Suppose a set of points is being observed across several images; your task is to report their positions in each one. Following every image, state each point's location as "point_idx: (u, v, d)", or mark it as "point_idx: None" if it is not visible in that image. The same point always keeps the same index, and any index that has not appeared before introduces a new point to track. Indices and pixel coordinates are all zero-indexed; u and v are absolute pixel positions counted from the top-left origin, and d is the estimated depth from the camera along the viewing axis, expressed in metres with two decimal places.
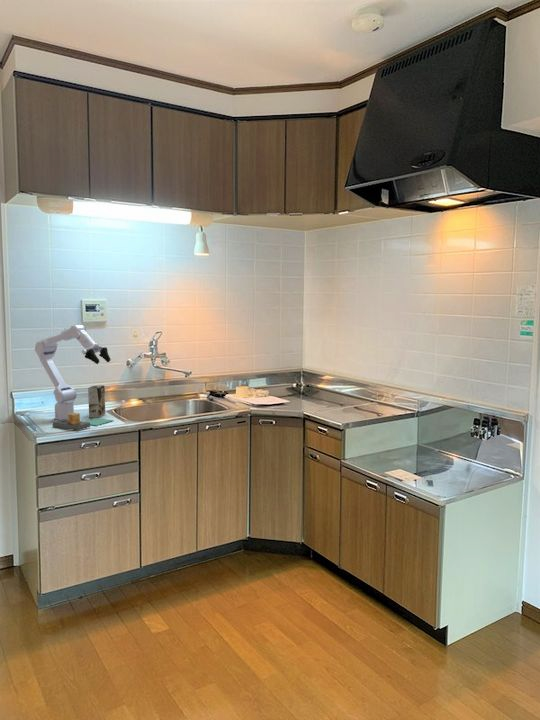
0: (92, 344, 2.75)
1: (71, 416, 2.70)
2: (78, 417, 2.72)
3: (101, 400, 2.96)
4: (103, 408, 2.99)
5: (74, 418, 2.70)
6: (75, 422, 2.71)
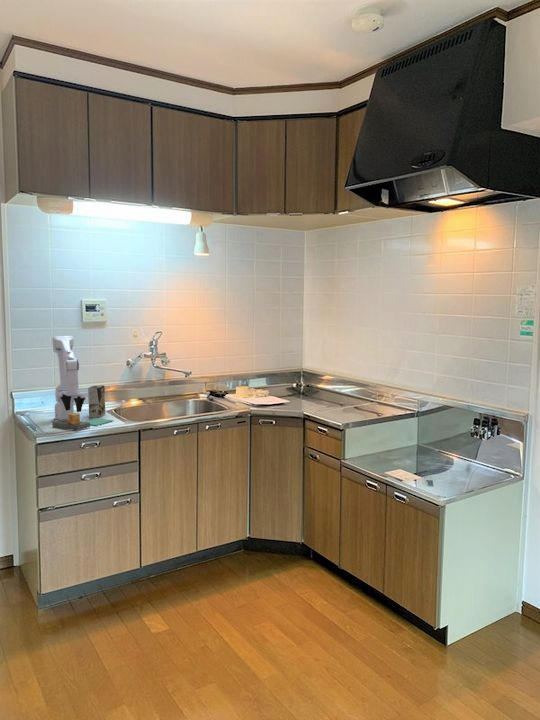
0: (66, 391, 2.69)
1: (71, 416, 2.70)
2: (78, 417, 2.72)
3: (101, 400, 2.96)
4: (103, 408, 2.99)
5: (74, 418, 2.70)
6: (75, 422, 2.71)
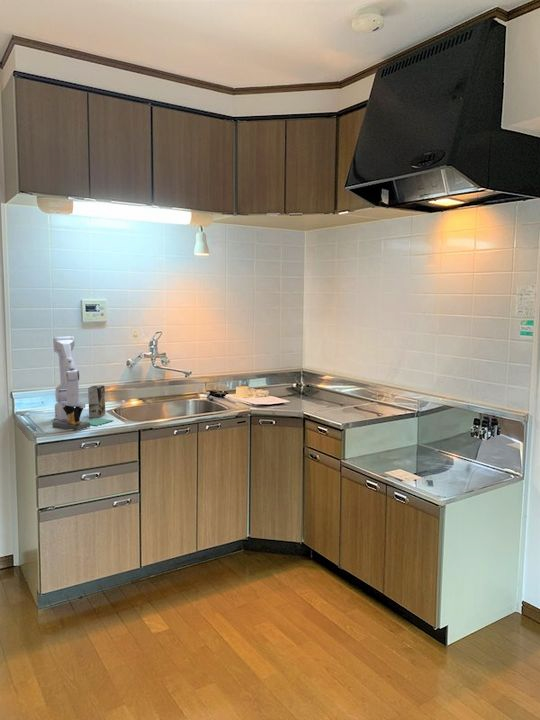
0: (67, 401, 2.69)
1: (71, 416, 2.70)
2: None
3: (101, 400, 2.96)
4: (103, 408, 2.99)
5: (74, 418, 2.70)
6: (75, 422, 2.71)
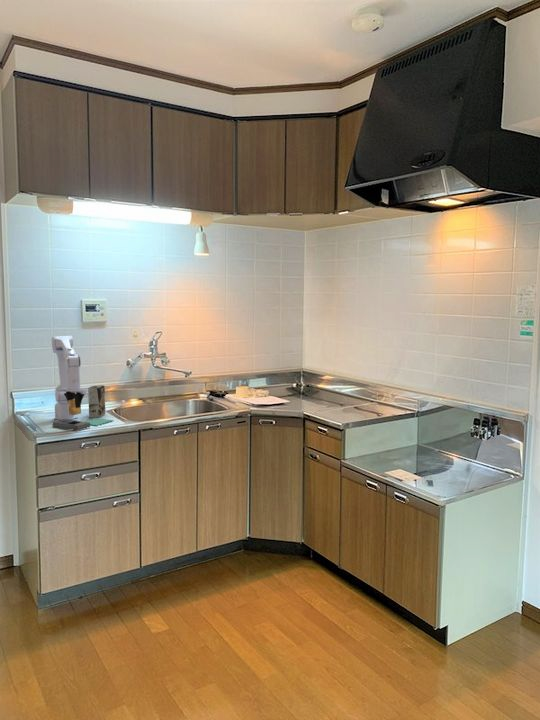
0: (68, 387, 2.69)
1: (72, 402, 2.70)
2: None
3: (101, 400, 2.96)
4: (103, 408, 2.99)
5: (75, 404, 2.70)
6: (76, 408, 2.70)
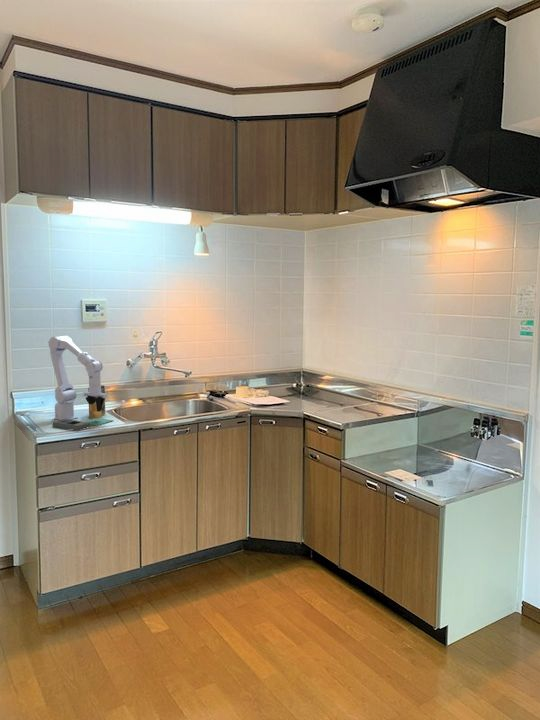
0: (89, 391, 2.79)
1: (93, 406, 2.80)
2: None
3: None
4: (103, 408, 2.99)
5: (96, 408, 2.80)
6: (97, 412, 2.81)
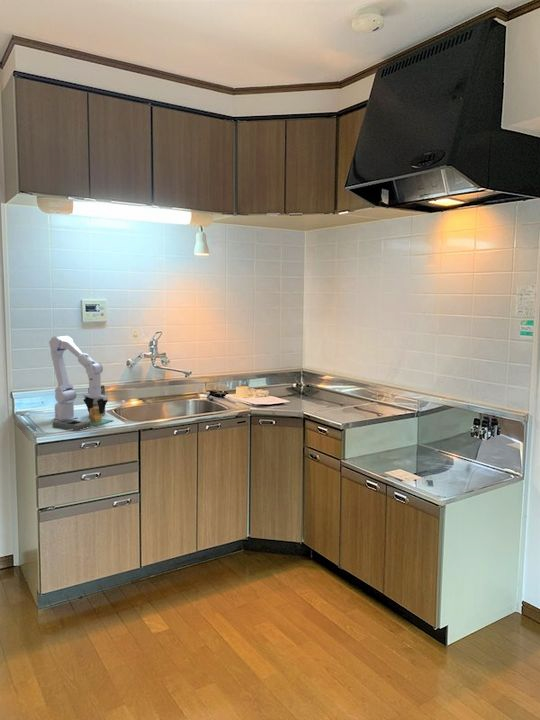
0: (89, 393, 2.80)
1: (93, 410, 2.80)
2: None
3: None
4: None
5: (96, 412, 2.80)
6: (97, 416, 2.81)
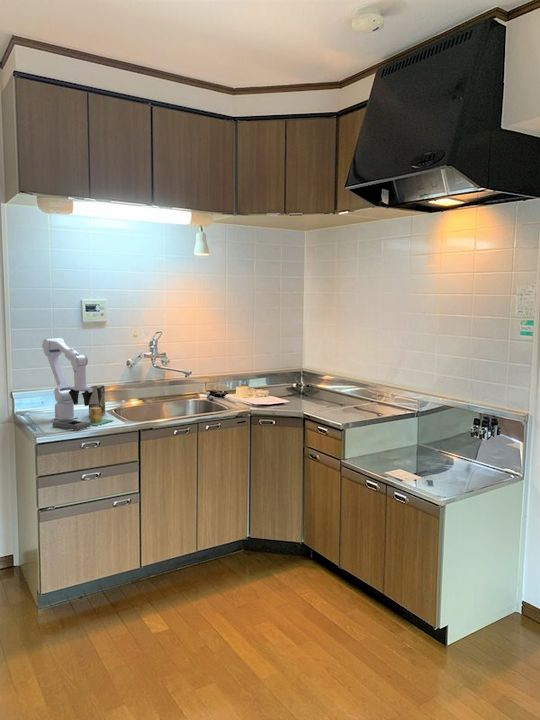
0: (74, 386, 2.78)
1: (93, 410, 2.80)
2: (100, 411, 2.82)
3: (101, 400, 2.96)
4: (103, 408, 2.99)
5: (96, 412, 2.80)
6: (97, 416, 2.81)
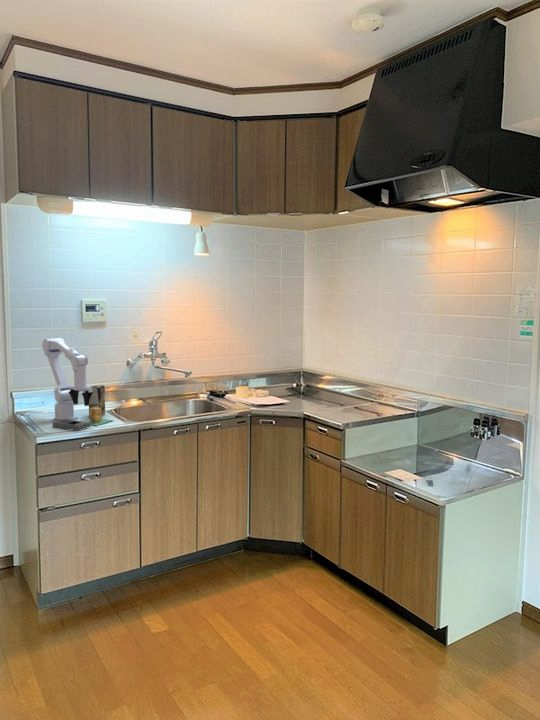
0: (74, 386, 2.78)
1: (93, 410, 2.80)
2: (100, 411, 2.82)
3: (101, 400, 2.96)
4: (103, 408, 2.99)
5: (96, 412, 2.80)
6: (97, 416, 2.81)
